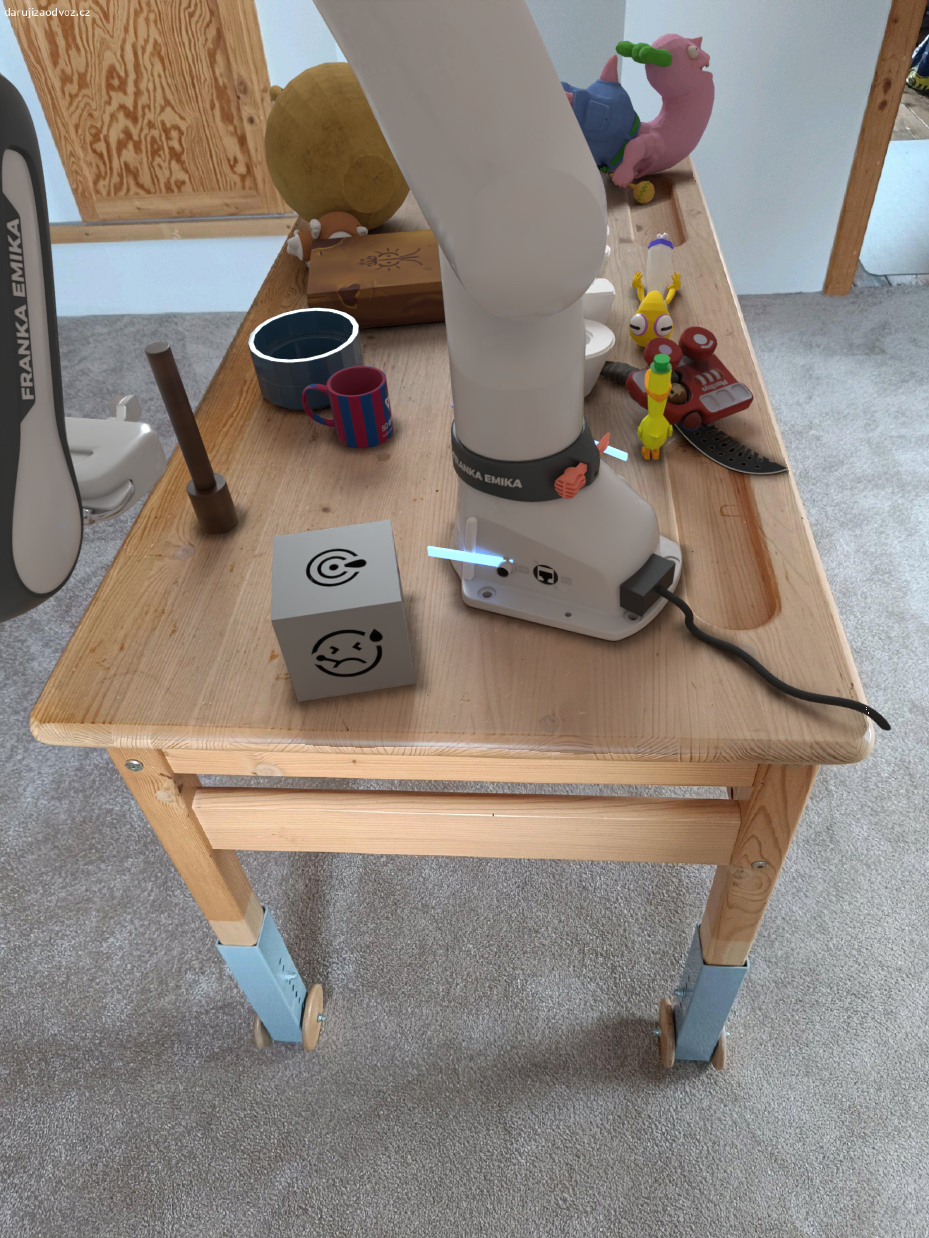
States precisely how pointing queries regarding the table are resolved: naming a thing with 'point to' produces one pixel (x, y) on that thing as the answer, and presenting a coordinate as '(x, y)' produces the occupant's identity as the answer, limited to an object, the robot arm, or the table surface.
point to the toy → (617, 126)
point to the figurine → (324, 233)
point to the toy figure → (656, 407)
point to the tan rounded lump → (331, 149)
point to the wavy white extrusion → (597, 324)
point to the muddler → (192, 446)
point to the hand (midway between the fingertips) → (75, 398)
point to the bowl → (303, 354)
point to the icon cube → (340, 610)
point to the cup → (356, 406)
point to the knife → (705, 434)
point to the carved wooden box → (378, 278)
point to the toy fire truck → (692, 380)
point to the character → (654, 294)
